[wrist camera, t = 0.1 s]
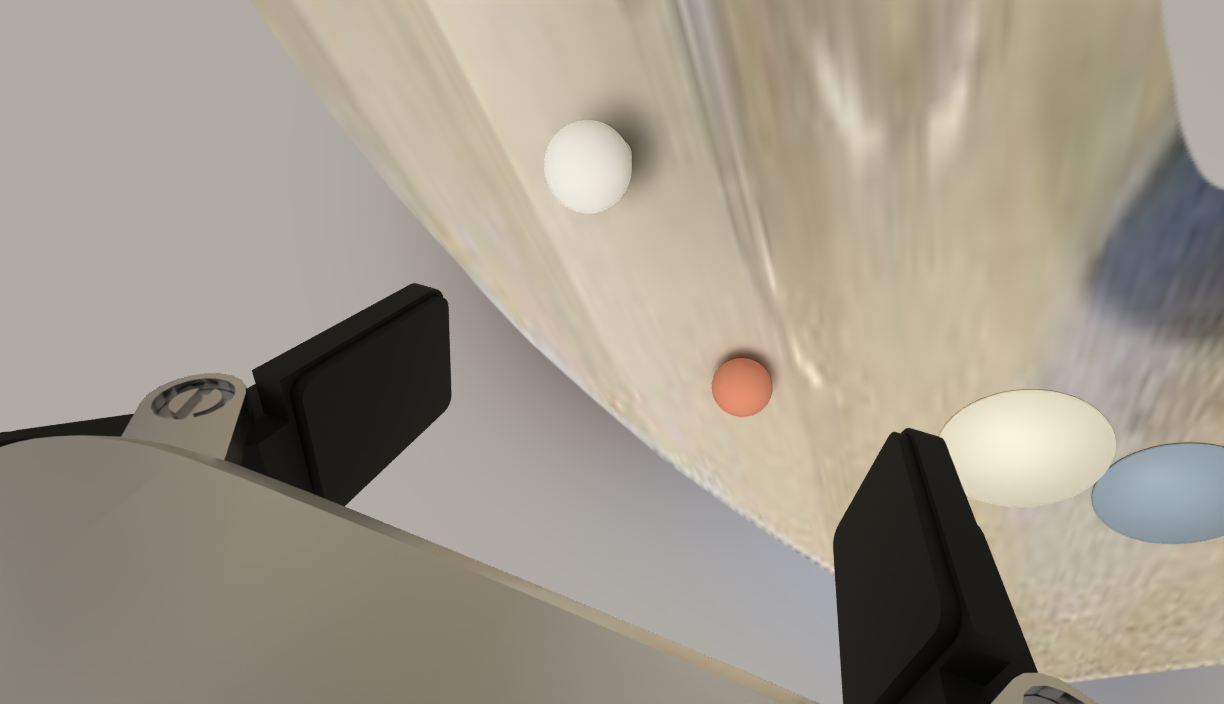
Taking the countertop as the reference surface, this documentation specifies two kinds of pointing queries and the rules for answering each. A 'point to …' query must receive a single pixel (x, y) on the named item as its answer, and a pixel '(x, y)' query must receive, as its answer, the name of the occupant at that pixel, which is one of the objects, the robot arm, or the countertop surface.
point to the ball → (742, 387)
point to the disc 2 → (1165, 494)
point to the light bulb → (588, 166)
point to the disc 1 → (1028, 447)
